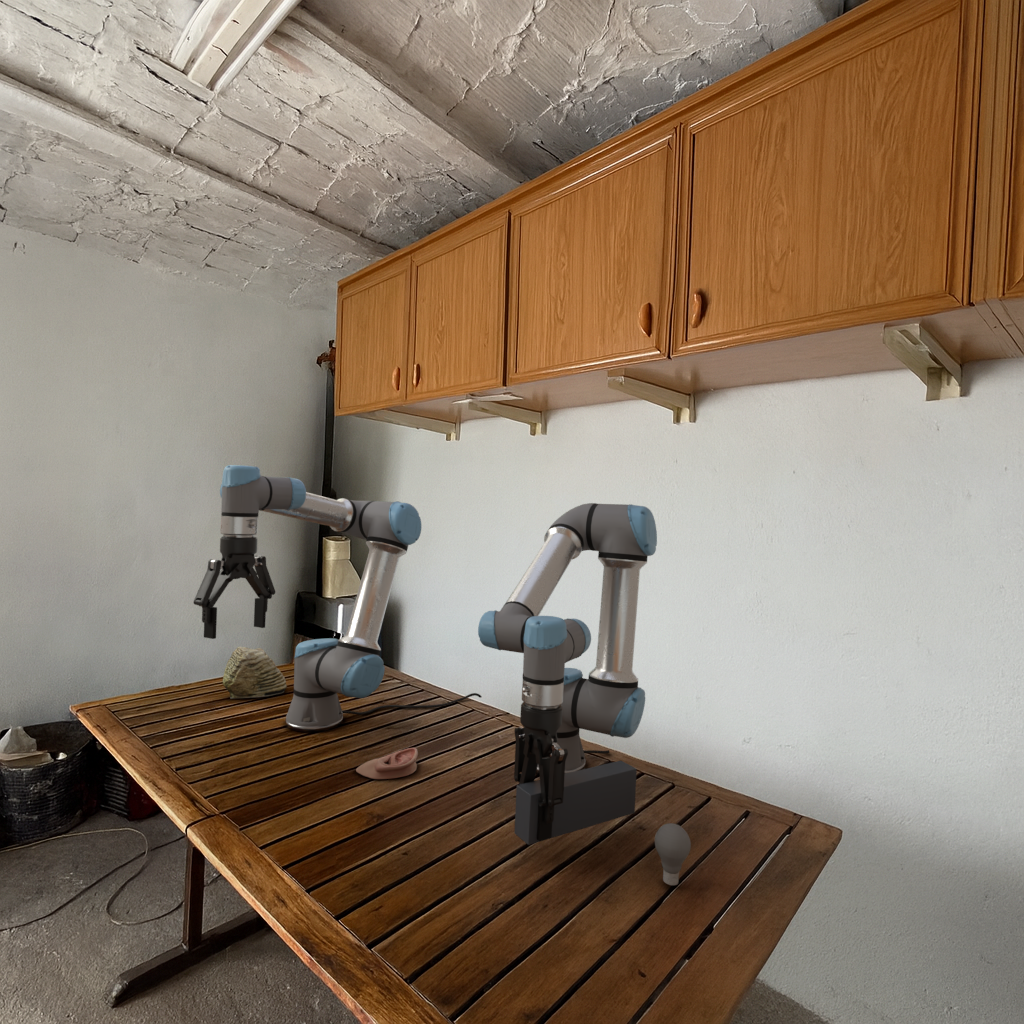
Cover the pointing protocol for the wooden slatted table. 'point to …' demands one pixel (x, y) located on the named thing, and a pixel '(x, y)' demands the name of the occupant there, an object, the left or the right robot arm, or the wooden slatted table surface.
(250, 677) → the fossil
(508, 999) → the wooden slatted table surface
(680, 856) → the light bulb
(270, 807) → the wooden slatted table surface
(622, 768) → the bar
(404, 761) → the anatomical model
